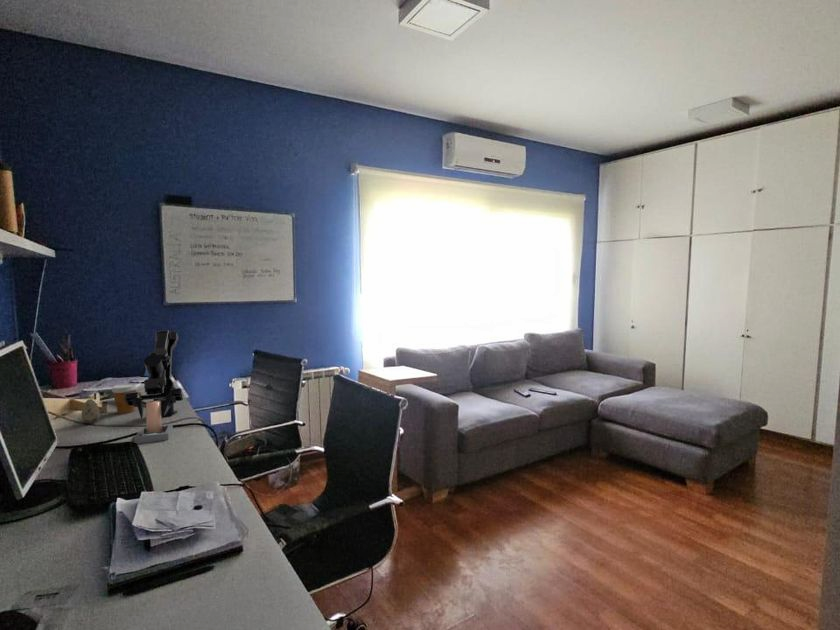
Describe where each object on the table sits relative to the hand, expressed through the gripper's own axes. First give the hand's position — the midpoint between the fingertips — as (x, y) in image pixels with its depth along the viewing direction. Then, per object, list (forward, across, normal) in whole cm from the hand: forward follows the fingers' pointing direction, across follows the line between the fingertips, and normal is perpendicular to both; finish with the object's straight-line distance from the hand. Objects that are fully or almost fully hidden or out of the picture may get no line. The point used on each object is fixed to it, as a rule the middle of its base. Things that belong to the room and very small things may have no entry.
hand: (152, 416), depth 158 cm
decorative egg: (-15, -27, +27) cm, 41 cm away
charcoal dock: (+5, 0, +7) cm, 8 cm away
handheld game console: (-67, -19, +80) cm, 106 cm away
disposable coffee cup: (-23, -17, +35) cm, 45 cm away
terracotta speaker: (+4, 0, +6) cm, 8 cm away
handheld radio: (-33, -18, +46) cm, 59 cm away
